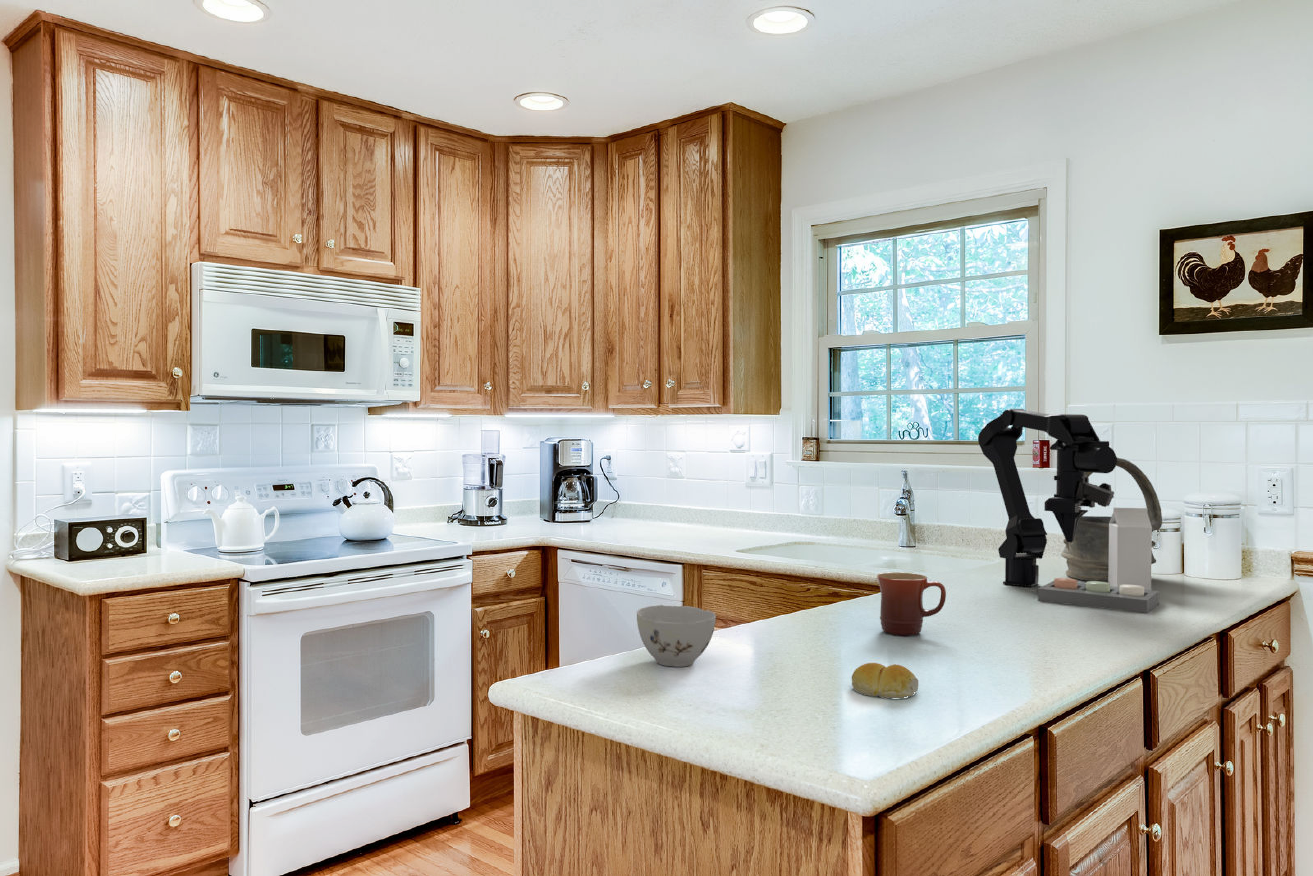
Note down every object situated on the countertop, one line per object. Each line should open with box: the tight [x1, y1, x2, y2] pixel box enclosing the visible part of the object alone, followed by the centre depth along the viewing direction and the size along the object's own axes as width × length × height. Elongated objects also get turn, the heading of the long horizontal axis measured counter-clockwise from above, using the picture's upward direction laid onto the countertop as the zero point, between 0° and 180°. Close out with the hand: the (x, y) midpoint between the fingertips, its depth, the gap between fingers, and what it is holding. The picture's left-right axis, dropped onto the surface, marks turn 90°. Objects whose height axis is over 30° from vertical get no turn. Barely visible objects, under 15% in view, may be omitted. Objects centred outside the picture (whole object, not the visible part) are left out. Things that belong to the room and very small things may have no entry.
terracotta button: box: [1053, 577, 1078, 589], centre depth 201 cm, size 5×5×3 cm
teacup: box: [636, 604, 717, 668], centre depth 146 cm, size 15×12×8 cm
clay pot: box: [1060, 457, 1163, 583], centre depth 229 cm, size 22×23×30 cm
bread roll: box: [851, 662, 919, 699], centre depth 130 cm, size 8×9×4 cm
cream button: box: [1119, 585, 1144, 597], centre depth 193 cm, size 5×5×3 cm
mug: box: [876, 571, 947, 637], centre depth 166 cm, size 12×9×10 cm
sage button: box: [1085, 581, 1110, 593], centre depth 197 cm, size 5×5×3 cm
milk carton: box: [1108, 507, 1153, 590], centre depth 210 cm, size 7×7×19 cm
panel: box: [1037, 580, 1160, 614], centre depth 197 cm, size 21×13×3 cm, turn 52°
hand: (1069, 542), depth 203 cm, fingers closed
